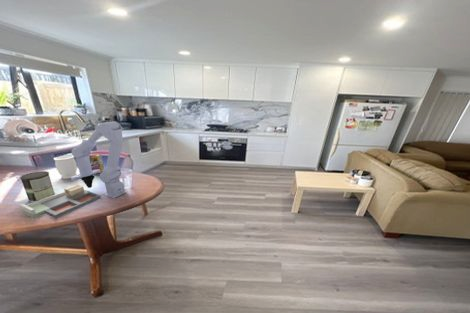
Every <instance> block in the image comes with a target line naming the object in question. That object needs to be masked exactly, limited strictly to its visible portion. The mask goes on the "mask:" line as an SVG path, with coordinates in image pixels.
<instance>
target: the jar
mask: <svg viewBox="0 0 470 313" xmlns="http://www.w3.org/2000/svg"><path fill="white" fill-rule="evenodd" d="M53 160H54V162H55V163H54V164H55V168H56V171H57V172H58V174H59V175H60V176H61V177H60V178H61V179H63V180H65V179H67V180H68V179H71V177H74V176H76V175H78V173H77V168H78V164H77V160H76V158H75V157H74V156H73V155H72V154H67V155H66V154H65V155H60V156H59V155H58V156H56V157H53Z"/></svg>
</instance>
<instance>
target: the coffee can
mask: <svg viewBox="0 0 470 313" xmlns="http://www.w3.org/2000/svg"><path fill="white" fill-rule="evenodd" d="M19 179H20V181H21V183H22V186H23V189H24V191H25V193H26V196H27V199H28V201H29V202H30V203H32V202H35V201H38V200H41V199H44V198H47V197H50V196H52V195H55V194H56V192H55V189H54V186H53V184H52V180H51V176H50V172H49V171H44V170H43V171H42V170H40V171H34V172H29V173H26V174H23V175H21V176H20V177H19Z"/></svg>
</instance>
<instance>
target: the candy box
mask: <svg viewBox="0 0 470 313" xmlns="http://www.w3.org/2000/svg"><path fill="white" fill-rule="evenodd" d="M89 159H90V164H91V168H92V171H93V170H98V169H99V170H101V173H102V170H103V169H104V168H105V167H104V162H103V156H102V154H101V153H98V154H97V153H95V154H94V153H93V154H92V153H90V158H89ZM101 173H97V174H96V175H100V174H101Z"/></svg>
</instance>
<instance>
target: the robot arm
mask: <svg viewBox="0 0 470 313" xmlns="http://www.w3.org/2000/svg"><path fill="white" fill-rule="evenodd" d="M122 131H123V127H122V126H121V124H120V123H119V122H118V121H115V120H113V121H109V122H99V123H98V124H97V125H96V126H95V130H94V131H93V132H92V133H91V135H90V136H89V137H87V138H86V137H85V138H83V139H82V142H80V144H78V145H77V147H73V148H72V150H71V153H70V154H71V155H73V156H74V159H75V161H76V164H77V168H78V172H79V174H78V173H77V175H76V176H74V177H71V178H70V180H71V182H75V181H77V180H81V181H82V182H83V183H84V184H85V186H86V187H87V188H88V189H90V188H92V187H93V181H94V179H95V175H98V174H97V173H101V170H99V169H98V170H93V171H92V168H91V164H90V159H89V158H90V154H92V152H91V151H92V150H93V149H94V147H95V148H96V146H97V143H96V142H97V141H98V140H99V139H101V137H104V138H105V139H107V140H108V141H110V142H109V148H108V155H107V161H106V166H105V167H104V169H103V170H102V173H101V174H99V179H100V180H101V182H103V183H104V186H105V191H106V192H104V193H103V195H104V196H106V197H110V198H112V199H115V198H117V197H119V196H122V195H123V194H125V193H127V190H126V189H125V184H124V183H123V181H121V180H120V176H121V175H122V170H121V168H122V167H121V166H119V163H120V162H119V161H120V157H121V154H122V153H121V152H122V147H123V143H124V136H123V133H122Z"/></svg>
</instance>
